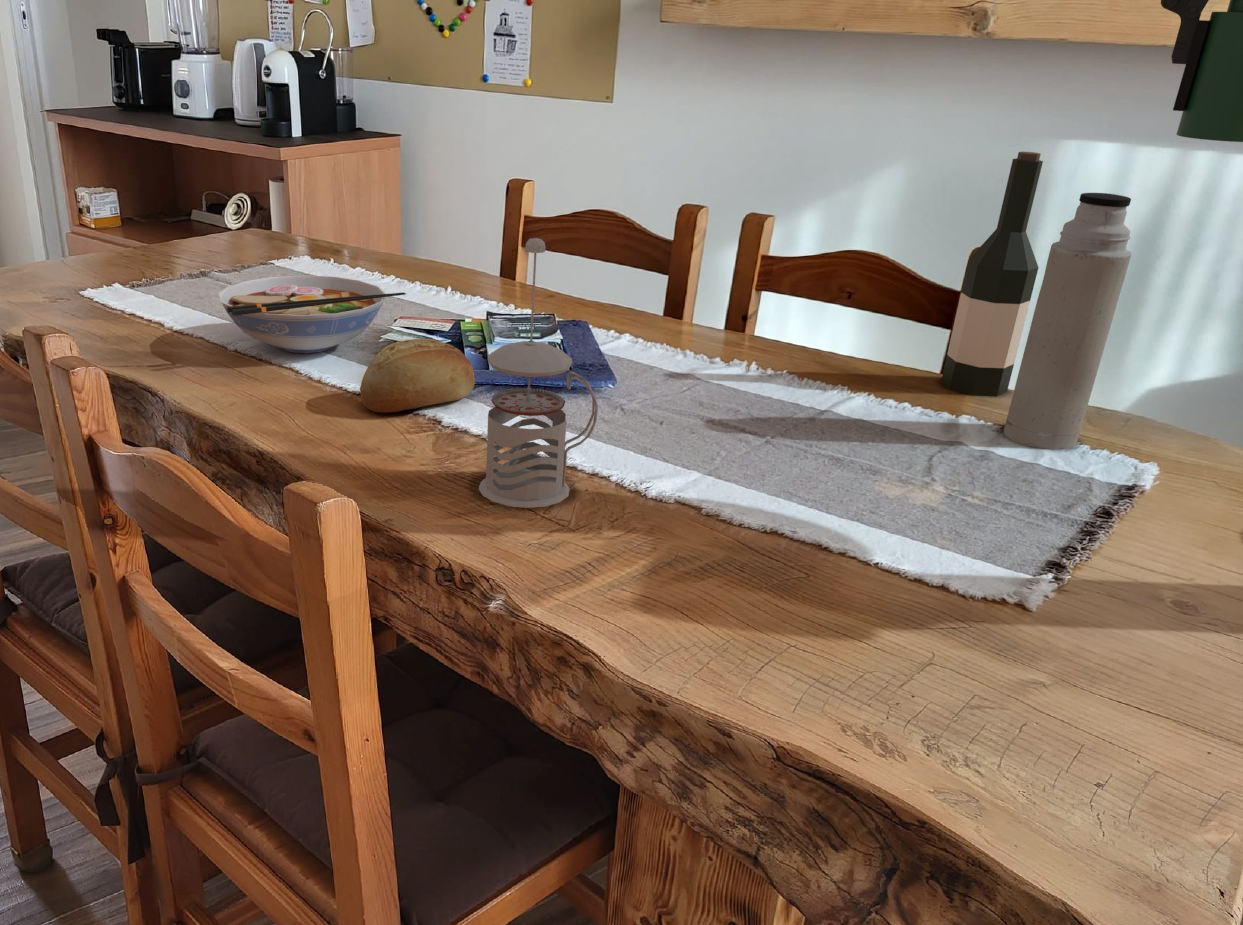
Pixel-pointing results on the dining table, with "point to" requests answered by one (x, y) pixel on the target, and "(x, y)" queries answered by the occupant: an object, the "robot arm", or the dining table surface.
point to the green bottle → (1218, 81)
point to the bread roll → (416, 376)
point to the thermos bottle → (1071, 324)
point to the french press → (529, 423)
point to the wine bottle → (996, 293)
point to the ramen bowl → (303, 310)
